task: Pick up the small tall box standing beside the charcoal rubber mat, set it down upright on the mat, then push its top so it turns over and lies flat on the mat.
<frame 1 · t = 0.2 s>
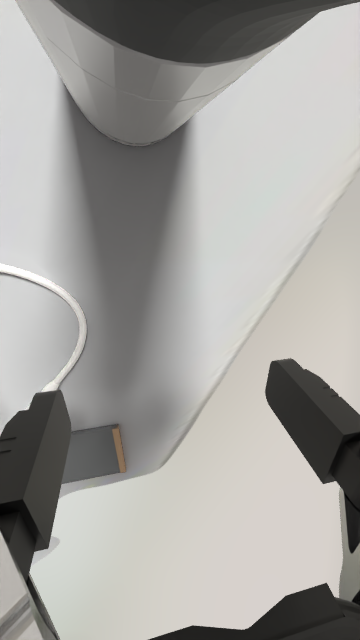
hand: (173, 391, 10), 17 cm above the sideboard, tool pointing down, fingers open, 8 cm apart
mat: (64, 457, 36), on the sideboard
earphone: (6, 353, 27), on the sideboard
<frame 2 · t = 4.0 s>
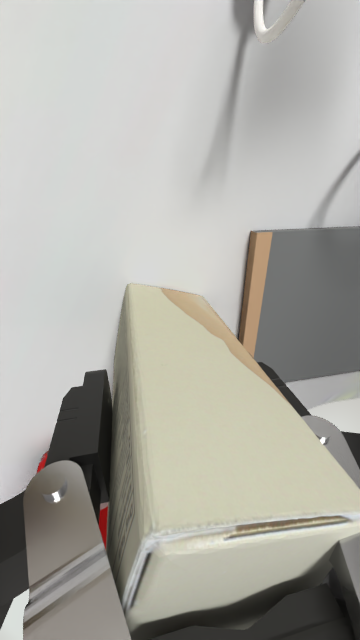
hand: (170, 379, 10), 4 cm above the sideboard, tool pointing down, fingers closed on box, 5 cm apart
mat: (356, 306, 17), on the sideboard
box: (156, 326, 14), on the sideboard, touching gripper
race car: (90, 486, 20), on the sideboard
when the fingers open (6 cm above the sideboard, at t = 8.8 s): box stays where it is, resting on mat.
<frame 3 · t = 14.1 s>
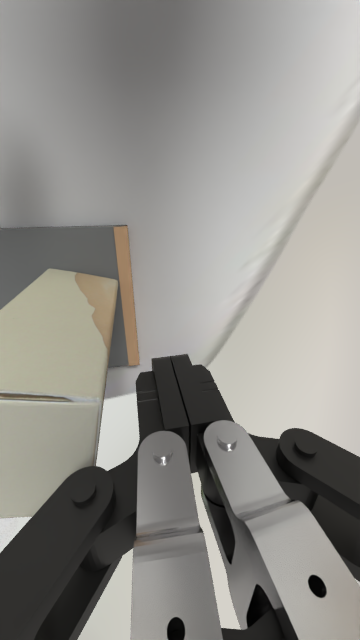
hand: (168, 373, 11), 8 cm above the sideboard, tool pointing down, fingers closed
mat: (7, 310, 16), on the sideboard
box: (81, 306, 17), resting on mat, touching gripper
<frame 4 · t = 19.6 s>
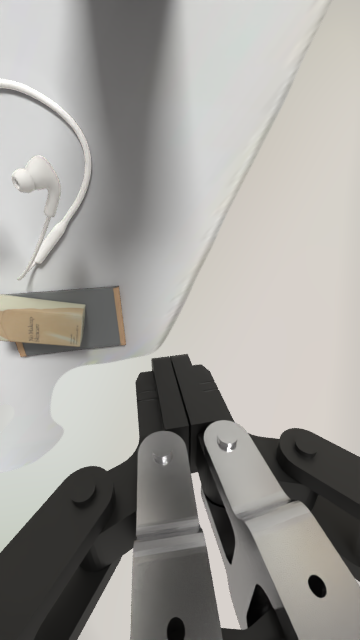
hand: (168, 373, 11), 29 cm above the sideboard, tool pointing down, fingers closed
mat: (69, 320, 39), on the sideboard
box: (84, 324, 37), point 3 cm above the sideboard, touching mat
earphone: (21, 188, 31), on the sideboard
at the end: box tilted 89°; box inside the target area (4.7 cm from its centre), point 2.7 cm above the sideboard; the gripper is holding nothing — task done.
